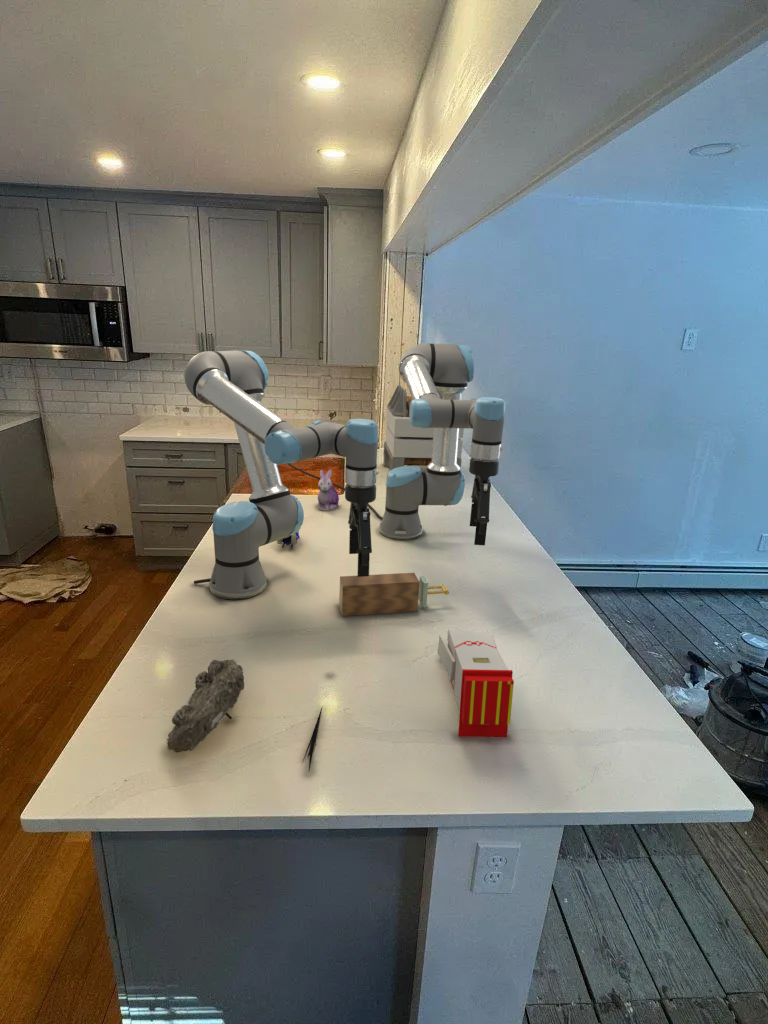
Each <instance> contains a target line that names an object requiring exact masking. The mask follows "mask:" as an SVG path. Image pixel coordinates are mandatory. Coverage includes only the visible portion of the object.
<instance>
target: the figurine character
mask: <svg viewBox="0 0 768 1024" xmlns="http://www.w3.org/2000/svg"><path fill="white" fill-rule="evenodd" d="M299 532H300V530H299V531H298V532H297V533H295V534H293V535H291V536H289V537H288V538H284V539H280V540H277V541H276V545H281V549H285V547H286V546H290V550H292V549H293V548H294V545H296V544H297V543H298V540H299V539H300V538H301V535H300V533H299ZM285 545H286V546H285Z"/></svg>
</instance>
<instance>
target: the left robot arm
mask: <svg viewBox="0 0 768 1024" xmlns="http://www.w3.org/2000/svg"><path fill="white" fill-rule="evenodd" d="M183 377H184V383H185V386H186V388H187V390H188V391H189V393H190V394H191V395H192V396H193V397H194V398H195V399H196V400H197V401H199V402H200V403H202V404H203V405H206V406H212V407H214V408H215V409H216V410H217V411H219V412H220V413H222V414H223V415H224V416H225V417H227V418H228V419H230V420H231V421H232V422H233V423H234V427H235V431H236V435H237V438H238V442H239V446H240V450H241V454H242V457H243V461H244V465H245V468H246V472H247V476H248V480H249V483H250V487H251V488H250V489H251V494H250V496H249V498H248V501H246V500H242V501H241V500H240V501H233V502H229V503H226V504H223V505H221V506H220V507H218V508H217V509H216V510H215V511H214V513H213V516H212V526H211V527H212V528H211V529H212V532H213V549H214V566H213V569H212V572H211V577H210V578H202V579H197V580H196V579H195V580H194V581H193V584H194V585H199V584H206V583H209V590H210V591H209V592H210V593H211V594H212V595H214V596H215V597H218V598H221V599H225V600H244V599H250V598H253V597H254V596H258V595H260V594H261V593H262V592H264V591H265V589H266V588H267V575H266V574H265V571H264V569H263V566H262V563H261V562H260V548H261V547H263V546H266V545H268V544H271V543H272V544H273V543H275V542H277V540H280V539H284V538H288V537H289V536H291V535H293V534H295V533H297V532H298V531H299V532H300V530H301V528H302V526H303V524H304V518H305V514H304V508H303V504H302V502H301V501H300V500H299V498H298V497H297V496H295V495H293V494H291V492H290V488H288V487H287V486H285V485H284V484H283V482H282V478H281V474H280V471H279V467H278V466H281V465H288V464H291V465H292V464H294V463H297V462H301V461H306V460H310V459H314V458H319V457H323V456H327V455H328V456H329V455H335V456H338V457H342V458H343V457H344V458H345V467H344V483H345V485H344V488H345V490H344V498H345V500H346V501H347V502H348V503H350V506H349V507H350V508H349V514H348V521H347V524H348V525H349V526H348V527H349V537H348V539H349V540H348V541H349V542H348V543H349V544H348V545H349V546H348V550H349V551H348V554H349V555H356V554H357V576H358V577H364V576H369V575H370V560H371V559H370V558H371V557H370V556H371V555H370V554H372V553H373V548H372V533H371V532H372V531H371V530H372V529H371V511H370V508H369V507H368V506H367V504H370V503H373V502H375V501H376V498H377V486H376V484H377V475H379V474H380V471H379V470H378V469H377V468H378V464H377V462H378V448H379V427H378V423H377V422H376V421H375V420H373V419H368V418H351V419H348V420H347V421H346V423H345V424H342V423H337V422H333V421H330V420H321V419H320V420H315V421H312V423H311V424H310V425H307V426H301V427H295V426H294V425H293V424H291V423H289V422H288V421H287V420H285V419H284V418H283V417H281V416H280V415H278V414H276V413H275V412H274V411H273V410H271V409H270V408H269V407H267V406H266V405H264V404H263V403H262V401H263V399H264V397H265V391H264V390H266V388H267V386H268V384H269V381H268V380H269V371H268V368H267V365H266V363H265V361H264V360H263V359H262V357H261V356H260V355H259V354H257V353H256V352H254V351H252V350H243V349H236V350H235V349H233V350H217V351H216V350H215V351H212V350H210V351H202V352H199V353H197V354H195V355H194V356H193V357H191V359H190V360H189V361H188V363H186V366H185V369H184V375H183Z"/></svg>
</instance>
